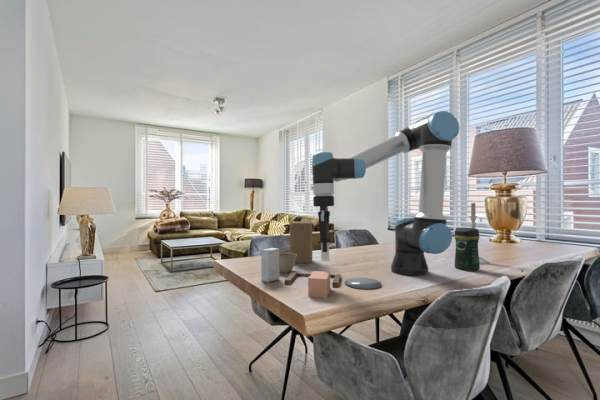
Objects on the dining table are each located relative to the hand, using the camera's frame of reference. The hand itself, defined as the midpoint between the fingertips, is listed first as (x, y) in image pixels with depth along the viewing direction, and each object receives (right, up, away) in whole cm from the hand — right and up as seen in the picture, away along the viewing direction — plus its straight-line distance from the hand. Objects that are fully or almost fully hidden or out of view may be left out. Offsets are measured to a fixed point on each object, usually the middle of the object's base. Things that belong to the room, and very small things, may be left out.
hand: (325, 260), depth 110 cm
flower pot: (-16, -9, +22) cm, 29 cm away
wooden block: (-9, -9, +42) cm, 44 cm away
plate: (+14, -9, +1) cm, 17 cm away
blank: (-3, -9, -8) cm, 13 cm away
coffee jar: (+66, -9, +26) cm, 71 cm away
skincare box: (-21, -9, +7) cm, 24 cm away
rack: (-4, -9, +6) cm, 12 cm away
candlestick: (+78, -9, +43) cm, 89 cm away
